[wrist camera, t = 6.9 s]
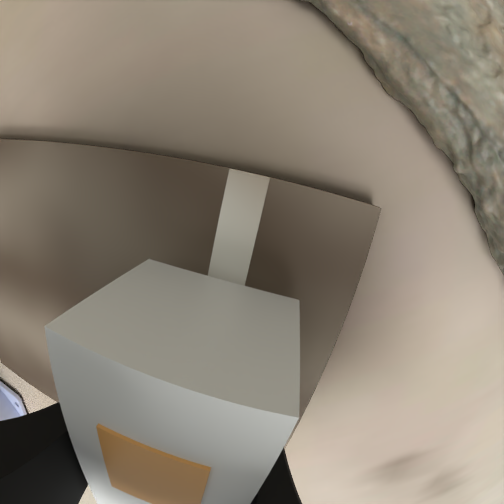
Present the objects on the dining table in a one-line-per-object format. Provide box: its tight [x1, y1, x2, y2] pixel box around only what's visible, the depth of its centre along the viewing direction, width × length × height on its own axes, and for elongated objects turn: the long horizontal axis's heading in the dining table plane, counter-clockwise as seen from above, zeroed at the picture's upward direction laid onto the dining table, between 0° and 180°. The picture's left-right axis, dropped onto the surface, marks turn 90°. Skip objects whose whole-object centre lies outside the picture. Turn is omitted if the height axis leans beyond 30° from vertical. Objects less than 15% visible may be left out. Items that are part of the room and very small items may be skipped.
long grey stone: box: [300, 0, 504, 274], centre depth 5 cm, size 35×5×10 cm
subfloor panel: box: [0, 139, 381, 450], centre depth 11 cm, size 14×18×1 cm
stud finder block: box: [45, 259, 300, 504], centre depth 8 cm, size 10×4×5 cm, turn 167°
